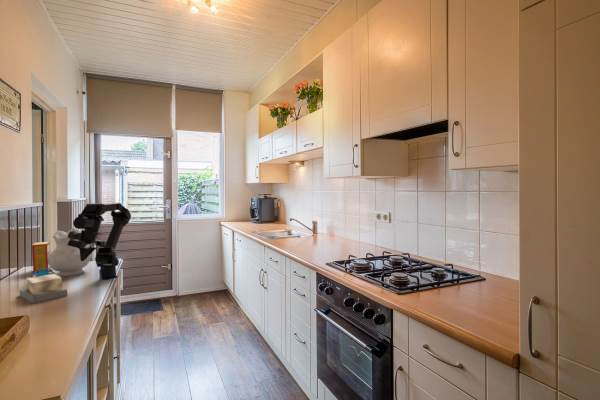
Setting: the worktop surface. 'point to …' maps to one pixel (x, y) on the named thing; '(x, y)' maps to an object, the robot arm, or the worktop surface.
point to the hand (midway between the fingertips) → (82, 261)
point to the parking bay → (42, 297)
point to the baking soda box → (40, 256)
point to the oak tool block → (44, 284)
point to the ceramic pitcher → (66, 256)
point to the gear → (42, 273)
